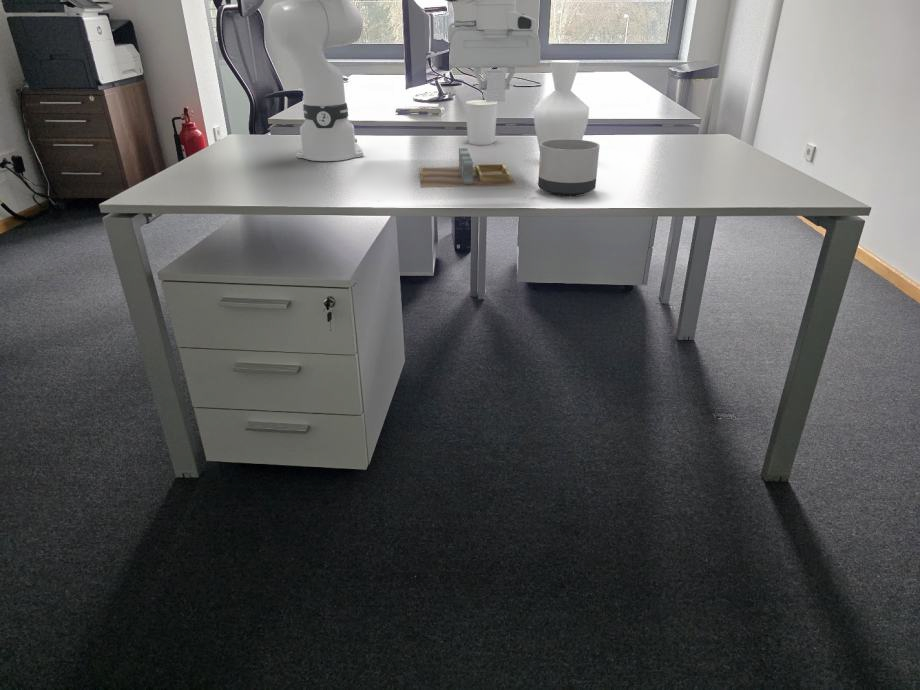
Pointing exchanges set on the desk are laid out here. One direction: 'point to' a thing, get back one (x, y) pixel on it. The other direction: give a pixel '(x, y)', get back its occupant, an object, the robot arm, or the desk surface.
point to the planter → (568, 166)
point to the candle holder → (481, 121)
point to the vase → (561, 107)
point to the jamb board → (456, 178)
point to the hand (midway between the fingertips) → (493, 89)
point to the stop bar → (494, 85)
